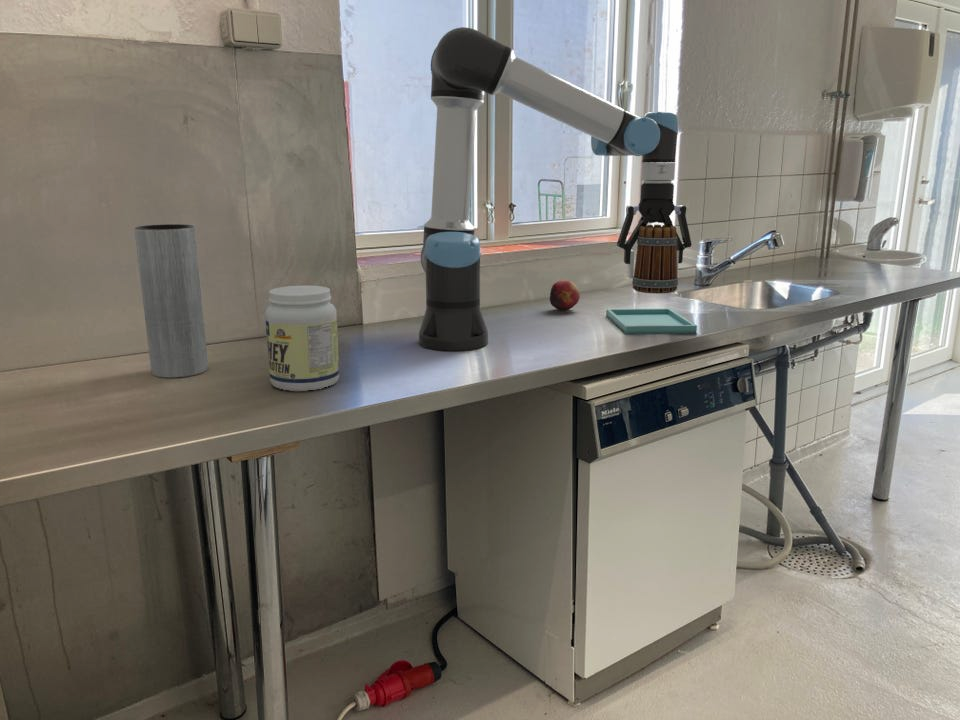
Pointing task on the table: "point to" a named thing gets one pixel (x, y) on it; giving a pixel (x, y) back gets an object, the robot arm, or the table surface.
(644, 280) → the mug
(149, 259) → the vase
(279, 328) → the supplement tub
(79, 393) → the table surface
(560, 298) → the fruit
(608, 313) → the tray
